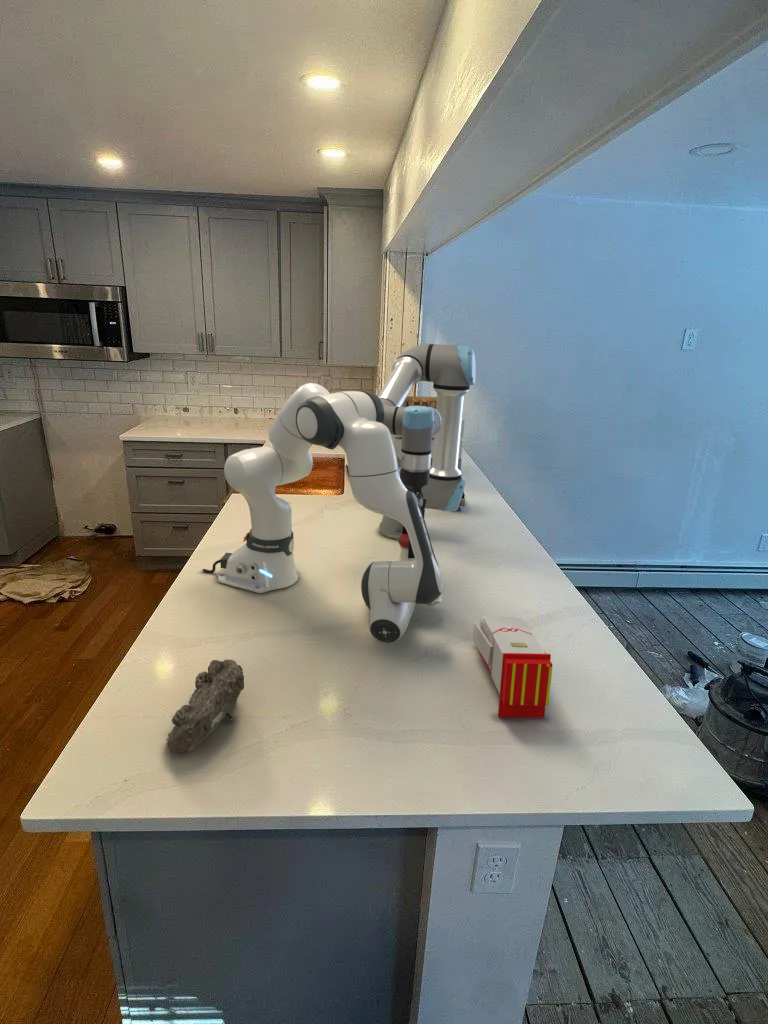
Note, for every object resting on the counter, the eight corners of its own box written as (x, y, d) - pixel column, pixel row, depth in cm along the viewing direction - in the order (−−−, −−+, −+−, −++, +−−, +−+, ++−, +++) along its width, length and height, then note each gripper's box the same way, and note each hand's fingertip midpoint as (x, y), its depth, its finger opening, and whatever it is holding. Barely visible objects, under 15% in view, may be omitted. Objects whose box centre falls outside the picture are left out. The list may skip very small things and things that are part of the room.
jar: (416, 594, 158) (420, 536, 152) (416, 603, 153) (420, 545, 147) (397, 592, 158) (400, 535, 153) (396, 602, 153) (399, 543, 147)
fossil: (192, 660, 117) (244, 628, 112) (224, 691, 120) (276, 661, 115) (142, 746, 98) (202, 712, 93) (182, 779, 101) (242, 748, 96)
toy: (519, 602, 136) (561, 660, 107) (515, 654, 139) (554, 724, 109) (469, 601, 136) (497, 659, 106) (465, 653, 138) (492, 723, 109)
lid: (413, 550, 146) (413, 544, 146) (394, 543, 150) (394, 537, 149) (426, 543, 151) (426, 537, 150) (407, 537, 154) (407, 531, 154)
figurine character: (465, 515, 224) (460, 499, 237) (467, 498, 221) (462, 483, 234) (448, 515, 224) (444, 499, 237) (450, 498, 220) (445, 482, 234)
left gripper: (440, 594, 139) (447, 570, 151) (360, 582, 143) (373, 560, 155) (438, 616, 141) (445, 591, 153) (359, 604, 145) (372, 581, 157)
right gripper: (391, 459, 151) (387, 539, 159) (411, 479, 134) (405, 568, 142) (418, 458, 153) (413, 538, 161) (441, 478, 135) (434, 566, 143)
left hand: (408, 575), depth 154 cm, fingers closed on jar, 5 cm apart
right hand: (409, 552), depth 151 cm, fingers closed on lid, 6 cm apart
